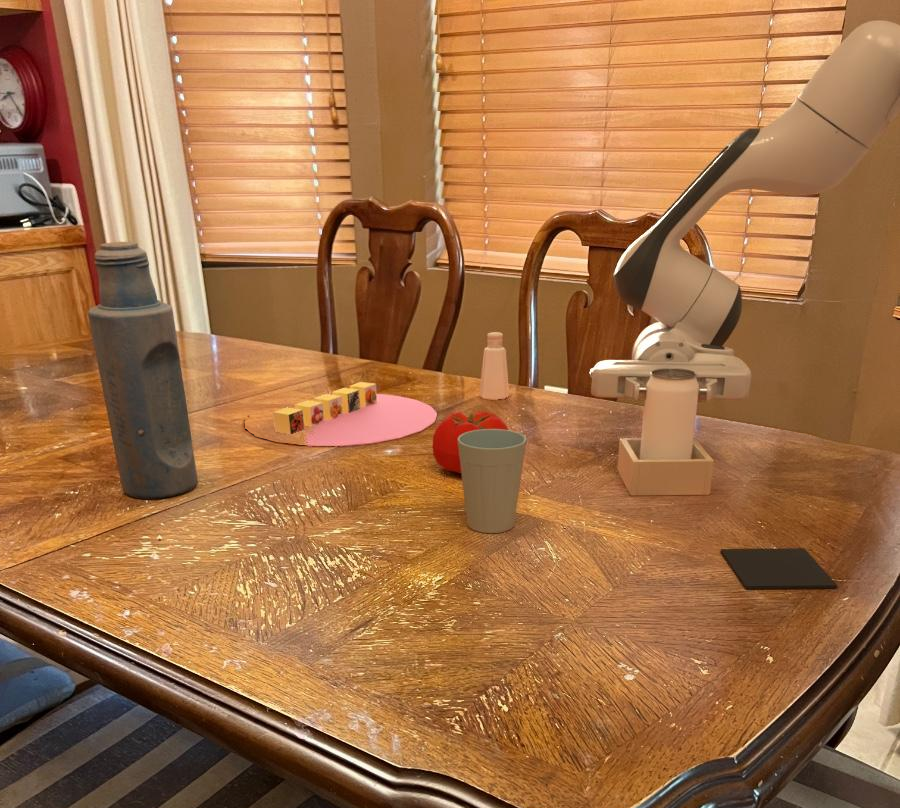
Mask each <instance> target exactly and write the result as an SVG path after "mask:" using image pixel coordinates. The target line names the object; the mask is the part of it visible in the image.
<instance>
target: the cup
mask: <svg viewBox="0 0 900 808" xmlns="http://www.w3.org/2000/svg"><path fill="white" fill-rule="evenodd" d="M526 447H527V437H526V435H524V434H522V433H521V432H518V431H515V430H510V429H508V430H503V429H481V430H474V431H469V432H466V433H463V434H461V435H460V436H459V437H458V448H459V456H460V464H461V473H462V474H461V480H462V491H463V497H464V507H465V512H466V513H465V514H466V523H467V524H466V525H467V526H468V528H470V529H471V530H473V531H474V532H478V533H483V534H500V533H505V532H508V531H510V530H512V529H513V528H514V526H515V522H516V515H517V508H518V500H519V493H520V486H521V479H522V471H523V465H524V459H525V454H526Z"/></svg>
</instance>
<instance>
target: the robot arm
mask: <svg viewBox="0 0 900 808" xmlns="http://www.w3.org/2000/svg"><path fill="white" fill-rule="evenodd" d="M898 115H900V24H898V23H896V22H893V21H889V20H883V19H882V20H881V19H875V20H869V21H866V22H864V23H862V24H860V25H859V26H857V27H855V29H853V30H852V31H851V32H850V33H849V35H848V36H846V37H845V39H843V40H842V41H841V42H840V44H839V45H838V46H837V47H836V48H835V49H834V50H833V52H831V54H829V56H828V57H827V59H825V60H824V62H823V63H822V64H821V65H820V66H819V67H818V69H816V71H815V73H814V74H813V75H812V76H811V78H809V80H808V81H807V83H806V84H805V86H804V87H803V89H802V90H801V91H800V93H798V95H797V98H795V99H794V101H793V102H792V104H791V105H790V106H789V107H788V108H787V109H786V110H785V111H784V112H783V113H782V114H781V115H780V116H779V117H777V118H776V119H775V120H774V121H772V122H770V123H769V124H767V125H764V126H763V127H761V128H747V129H746V130H744V131H742V132H741V133H740V134H738V135H737V136H736V137H734V138H733V139H732V140H731V141H730V142H729V143H728V144H727V145H726V146H725V147H724V148H722V150H721V151H720V152H719V153H718V154H717V156H715V157H714V158H713V159H712V161H711V162H710V163H708V165H707V166H706V167H705V168H704V169H702V171H701V172H700V173H699V174H698V175H697V177H695V178H694V180H693V181H692V182H691V183H690V184H689V185H688V187H686V189H684V191H683V192H682V193H681V194H680V195H679V196H678V197H677V199H675V200H674V202H673V203H671V205H670V206H669V207H668V208H667V210H666V211H665V212H664V213H663V214H662V215H661V216H660V217H659V218H658V219H657V220H656V221H655V222H654V223H653V224H652V225H651V226H650V228H648V229H647V230H646V232H644V233H643V234H642V235H641V236H639V237H638V238H637V239H636V240H635V241H633V242H632V243H631V244H630V245H629V246H628V247H627V249H626V250H625V251H624V252H623V254H622V255H621V257H620V258H619V260H618V262H617V264H616V266H615V270H614V272H613V273H612V274H613V283H614V287H615V291H616V293H617V296H618V298H619V300H620V302H623V303H624V304H627V305H628V306H630V307H632V308H634V309H636V310H638V311H641V312H643V313H645V314H646V315H648V316H650V318H652V319H654V320H656V321H657V322H654V323H652V324H650V325H648V326H647V327H645V328H644V329H643V330H642V331H641V332H640V333H639V335H638V336H637V337H636V340H635V342H634V344H633V347H632V351H631V359H606V360H605V359H604V360H600V361H598V362H596V364H595V365H594V367H592V368H590V370H589V376H590V378H591V386H590V387H591V388H590V394H591V395H592V396H593V397H596V398H607V399H612V398H613V399H633V401H637V402H639V401H640V402H643V401H644V402H645V400H646V392H647V386H646V385H647V382H648V381H649V379H650V377H651V371H653V370H656V369H663V368H679V369H687V370H691V371H694V372H696V373H697V376H696V379H697V382H698V385H699V394H698V403H710V402H711V400H712V401H744V400H747V399H748V398H749V395H750V391H751V384H752V371H751V369H750V367H749V366H748V365H747V363H746V362H744V360H742V359H741V358H739V357H738V356H735V354H734V353H735V352H734V351H735V350H734V349H733V348H732V347H728V346H724V344H725V343H726V342H727V341H728V339H729V338H730V337H731V335H732V333H733V332H734V330H735V329H736V326H737V325H738V323H739V321H740V319H741V315H742V312H743V311H742V310H743V309H742V307H743V294H742V289H741V286H740V284H739V283H737V282H736V281H734V280H732V279H731V278H730V277H728V276H727V275H725V274H724V273H722V272H721V271H719V270H717V269H716V268H715V267H713V266H710V265H709V264H707V263H706V262H704V261H703V260H701V259H700V258H699V257H697V256H695V255H694V254H692V253H690V252H689V251H688V250H686V249H685V248H683V246H682V245H681V240H682V239H683V238H684V237H685V236H686V235H687V234H688V233H689V232H690V231H691V230H692V228H694V227H695V225H697V223H699V221H700V220H701V219H702V218H703V217H704V216H705V215H706V214H707V213H708V212H709V211H710V210H711V208H713V206H714V205H715V204H716V203H717V202H719V201H720V200H721V199H722V198H723V197H724V196H726V195H728V194H730V193H733V192H736V191H741V190H757V191H765V192H768V193H774V194H780V195H785V196H793V197H794V196H795V197H804V196H805V197H806V196H813V195H818V194H821V193H825V192H827V191H829V190H831V189H833V188H835V187H836V186H837V187H838V185H840V184H841V183H842V182H843V181H844V179H846V178H847V176H849V174H850V173H851V172H853V170H854V169H855V168H856V167H857V166H858V164H859V163H860V162H861V161H862V159H864V157H865V155H867V153H868V152H869V150H870V149H871V148H872V147H873V146H874V144H875V143H876V141H877V140H878V139H879V138H880V136H881V135H882V134H883V132H884V131H885V129H887V127H888V126H889V125H890V124H891V123H892V122H893V121H894V120H895V118H897V116H898Z"/></svg>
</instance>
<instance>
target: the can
mask: <svg viewBox="0 0 900 808" xmlns="http://www.w3.org/2000/svg"><path fill="white" fill-rule="evenodd" d="M696 376H697V373H696V372H694V371H691V370H687V369H679V368H663V369H656V370H653V371H651V377H650V379H649V381H648V382H647V385H646V386H647V392H646V400H645V401H644V403H643V404H644V405H643V415H642V417H643V418H642V425H641V427H642V428H641V437H640V438H641V449H640V460H666V459H691V455H692V446H693V438H695V427H696V422H697V421H696V419H697V412H698V411H697V410H698V403H699V402H698V394H699V385H698V382H697V379H696Z"/></svg>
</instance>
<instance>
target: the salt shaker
mask: <svg viewBox="0 0 900 808" xmlns="http://www.w3.org/2000/svg"><path fill="white" fill-rule="evenodd" d="M486 337H487V347H485V348H484V349H483V355H482V367H481V374H480V384H479V394H478V395H479V397H480V398H481V399H482V400H487V401H499V400H498V399H502V400H505V398H506V397H507V398H509V397H510V385H509V374H508V363H507V362H508V360H507V350H506V347H504V346H503V338H504V334H503V333H502V332H499V331H492V332H488V333H487V334H486ZM508 396H509V397H508ZM507 398H506V399H507Z"/></svg>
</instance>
